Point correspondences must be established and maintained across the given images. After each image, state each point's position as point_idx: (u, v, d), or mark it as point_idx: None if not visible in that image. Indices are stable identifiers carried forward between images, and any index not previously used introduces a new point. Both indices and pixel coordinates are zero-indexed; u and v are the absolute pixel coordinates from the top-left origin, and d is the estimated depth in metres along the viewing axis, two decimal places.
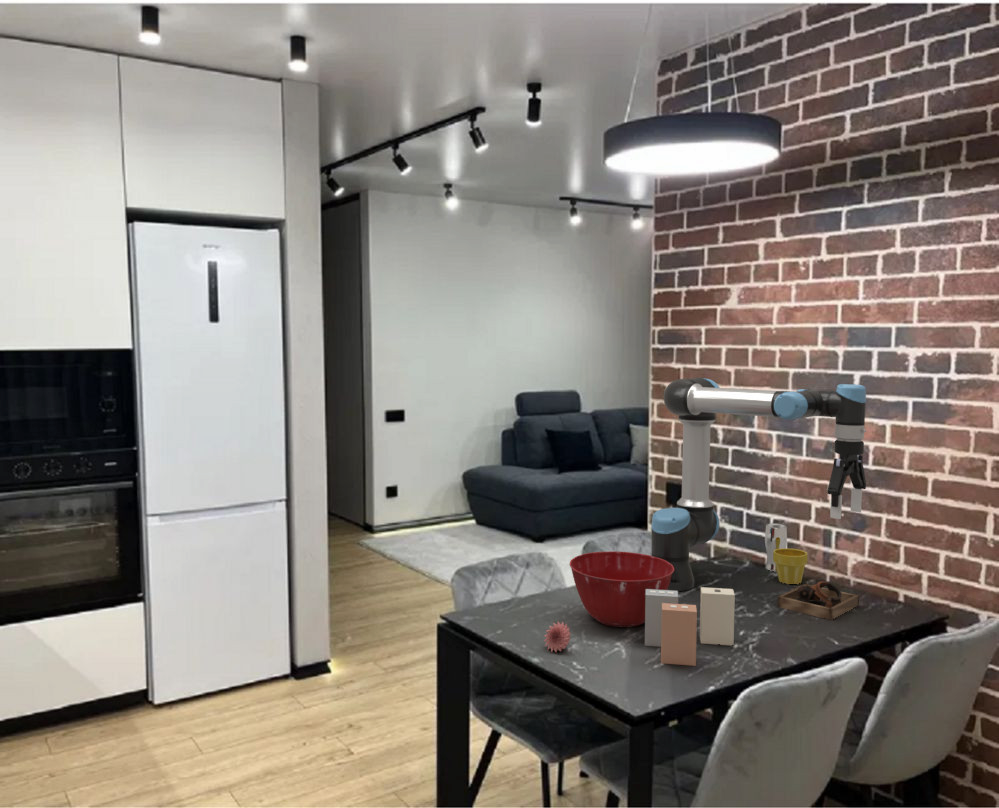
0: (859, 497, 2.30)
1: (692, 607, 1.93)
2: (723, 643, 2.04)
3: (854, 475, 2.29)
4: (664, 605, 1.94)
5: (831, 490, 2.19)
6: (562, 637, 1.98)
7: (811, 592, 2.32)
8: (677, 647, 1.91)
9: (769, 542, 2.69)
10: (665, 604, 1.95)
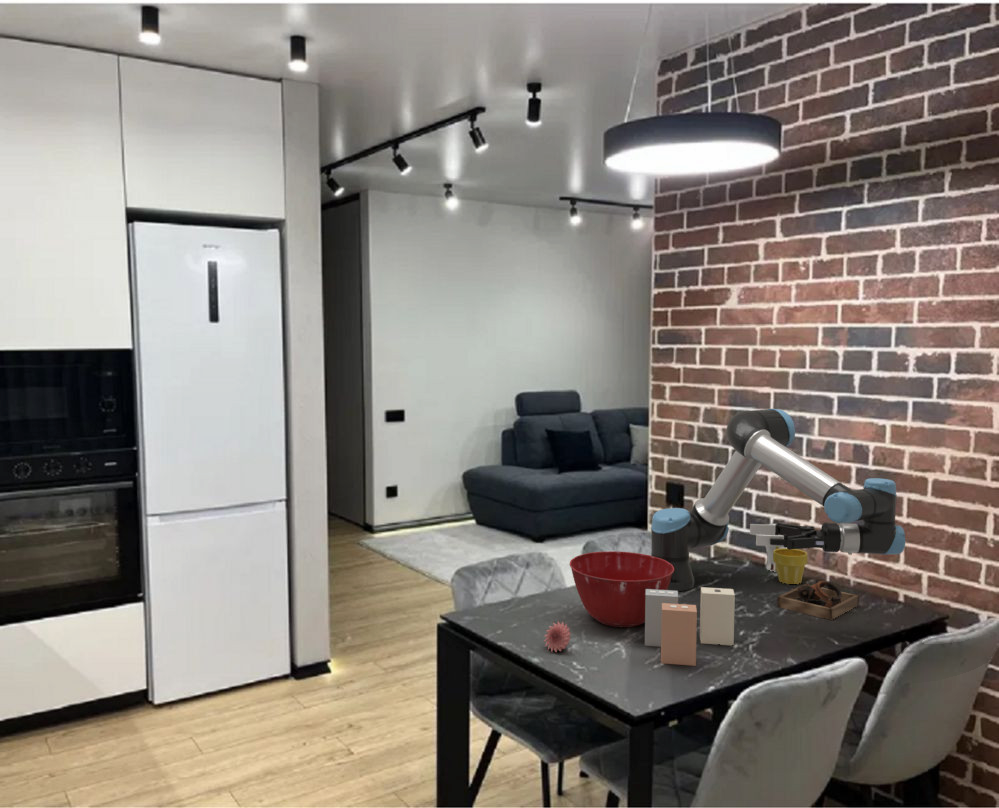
0: (766, 533, 2.20)
1: (692, 607, 1.93)
2: (723, 643, 2.04)
3: (793, 533, 2.16)
4: (664, 604, 1.94)
5: (791, 544, 2.04)
6: (562, 637, 1.98)
7: (811, 592, 2.32)
8: (677, 647, 1.91)
9: None
10: (665, 604, 1.95)
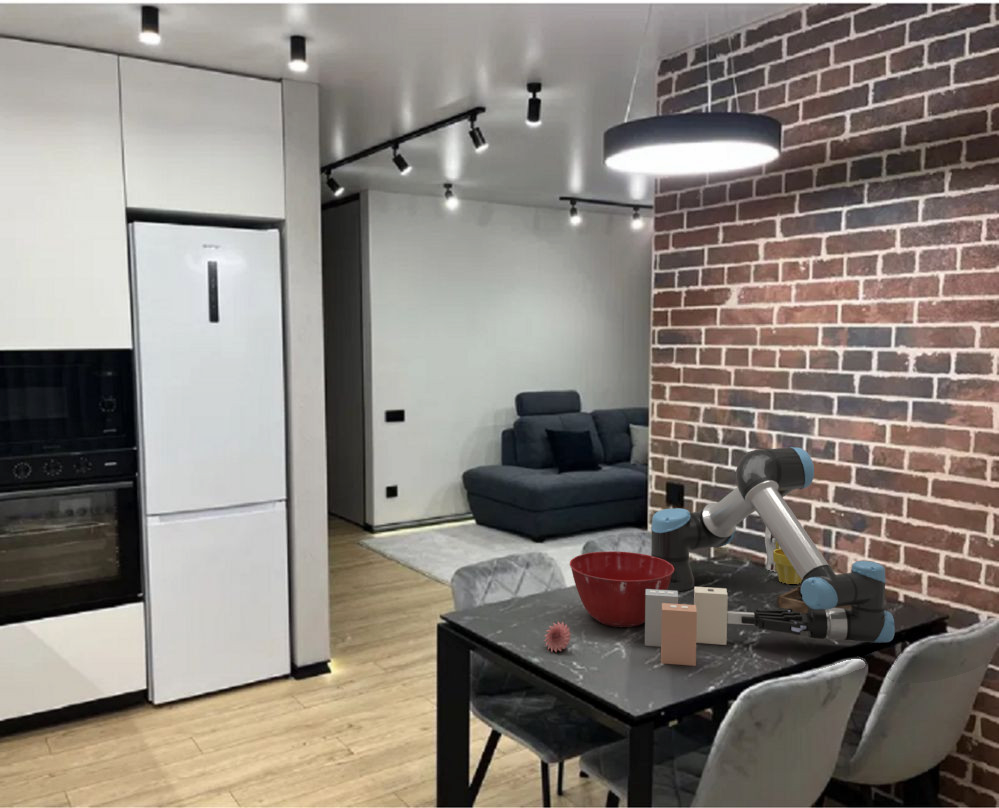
0: None
1: (692, 607, 1.93)
2: (716, 642, 2.04)
3: None
4: (664, 605, 1.94)
5: (762, 623, 2.00)
6: (562, 637, 1.98)
7: None
8: (677, 647, 1.91)
9: (769, 542, 2.69)
10: (665, 604, 1.95)
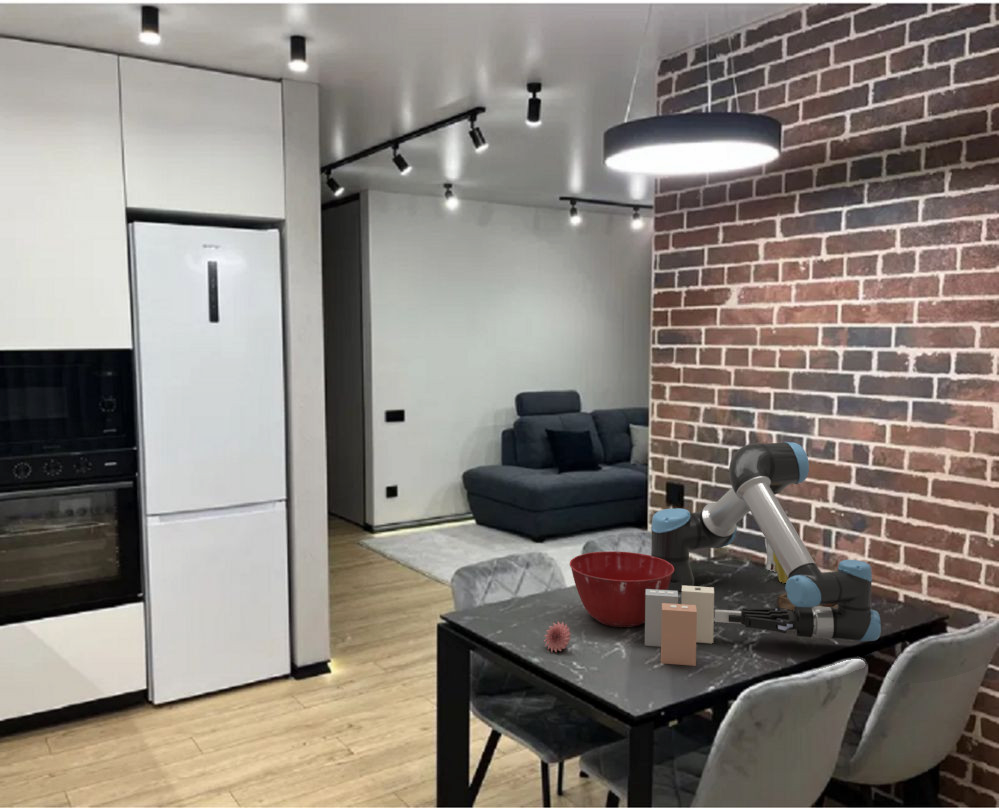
0: None
1: (692, 607, 1.93)
2: (703, 641, 2.05)
3: None
4: (664, 605, 1.94)
5: (749, 622, 2.01)
6: (562, 637, 1.98)
7: None
8: (677, 647, 1.91)
9: None
10: (665, 604, 1.95)
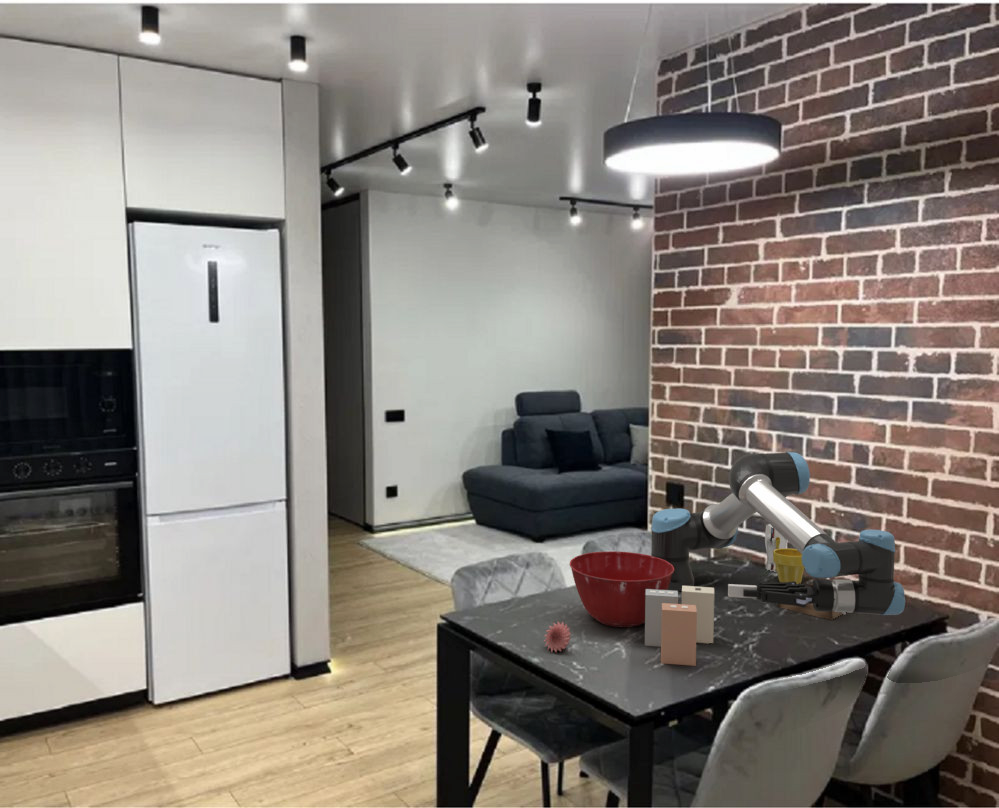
0: None
1: (692, 607, 1.93)
2: (703, 641, 2.05)
3: None
4: (664, 605, 1.94)
5: (765, 596, 1.90)
6: (562, 637, 1.98)
7: None
8: (677, 647, 1.91)
9: (769, 542, 2.69)
10: (665, 604, 1.95)
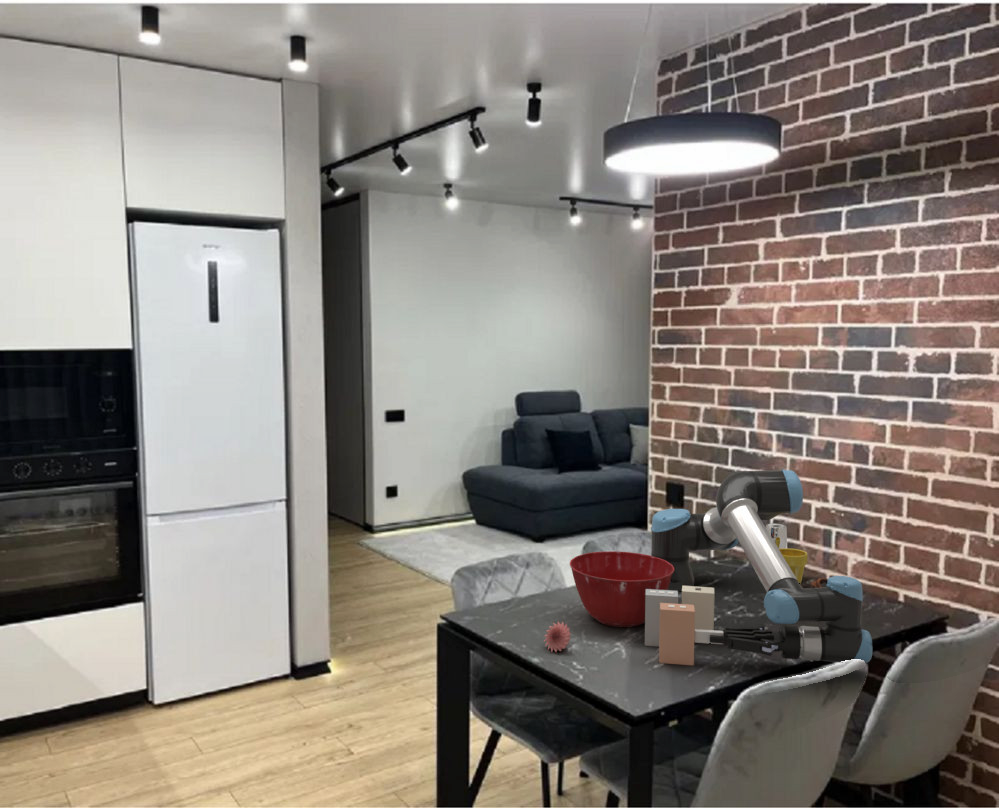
0: None
1: (690, 606, 1.93)
2: None
3: None
4: (662, 604, 1.94)
5: (731, 643, 1.87)
6: (562, 637, 1.98)
7: None
8: (675, 647, 1.91)
9: None
10: (663, 603, 1.95)
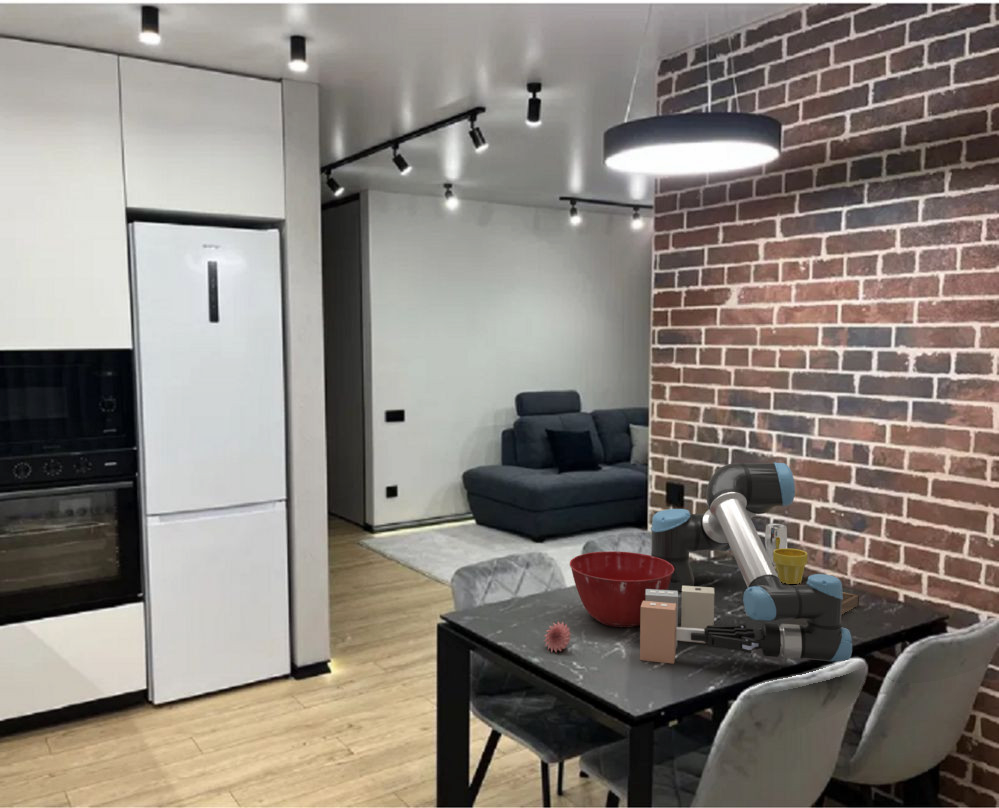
0: None
1: (671, 605, 1.94)
2: None
3: None
4: (644, 602, 1.96)
5: (712, 640, 1.88)
6: (562, 637, 1.98)
7: None
8: (655, 644, 1.92)
9: (769, 542, 2.69)
10: (646, 601, 1.97)
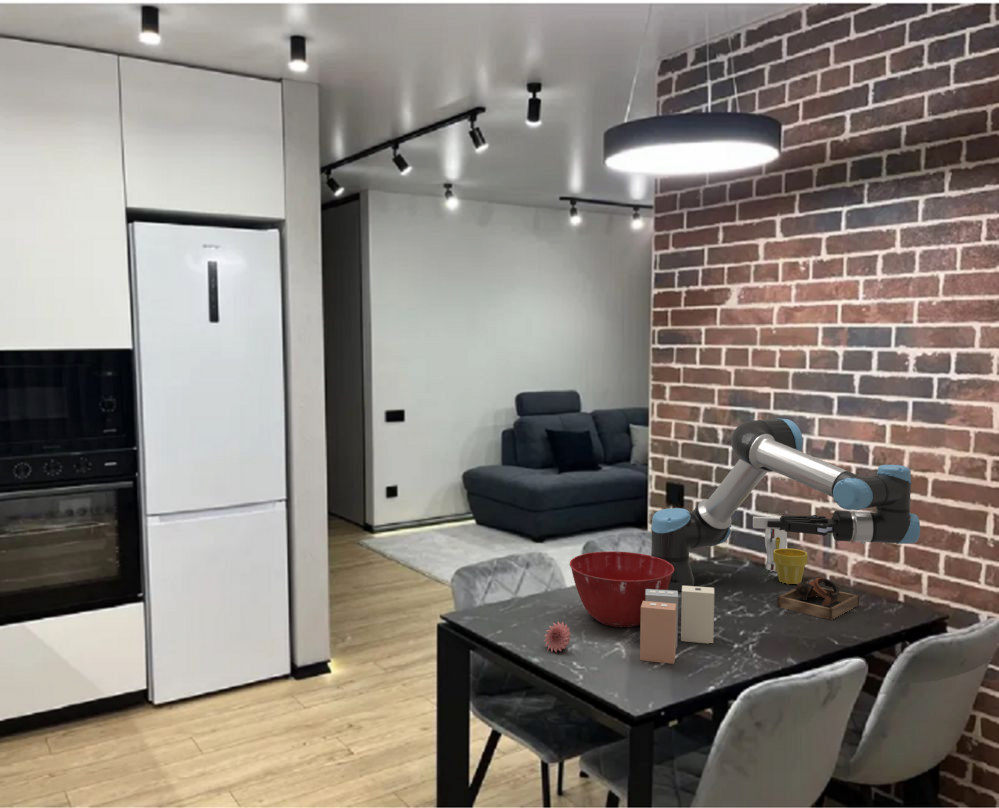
0: None
1: (671, 605, 1.94)
2: (703, 641, 2.05)
3: None
4: (645, 602, 1.96)
5: (788, 526, 2.02)
6: (562, 637, 1.98)
7: (810, 588, 2.35)
8: (655, 645, 1.92)
9: (769, 542, 2.69)
10: (646, 601, 1.97)
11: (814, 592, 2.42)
